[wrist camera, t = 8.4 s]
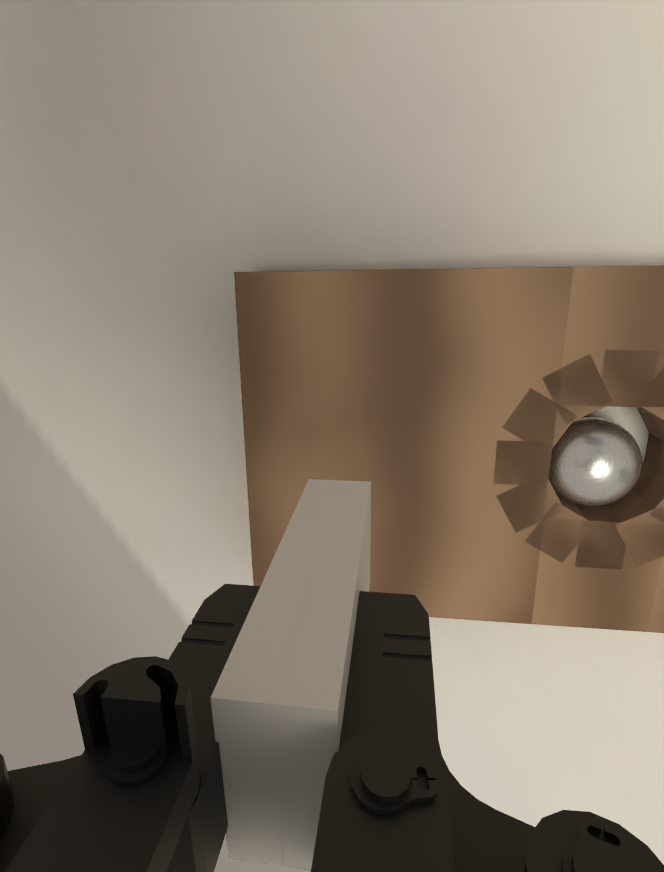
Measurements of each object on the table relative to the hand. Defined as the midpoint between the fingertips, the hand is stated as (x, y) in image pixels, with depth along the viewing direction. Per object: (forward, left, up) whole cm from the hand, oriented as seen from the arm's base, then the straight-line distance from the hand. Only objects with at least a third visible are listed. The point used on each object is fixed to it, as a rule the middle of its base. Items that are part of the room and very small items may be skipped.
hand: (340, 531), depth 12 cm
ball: (+1, +9, -8) cm, 12 cm away
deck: (+1, +5, -10) cm, 11 cm away
